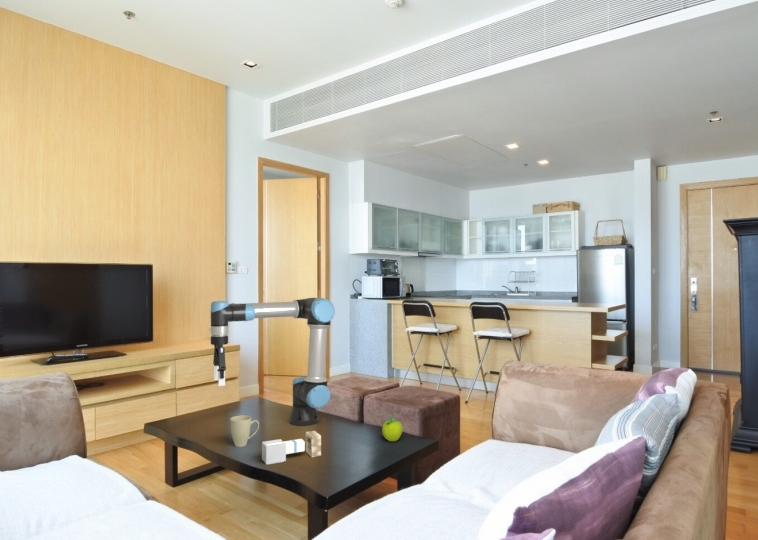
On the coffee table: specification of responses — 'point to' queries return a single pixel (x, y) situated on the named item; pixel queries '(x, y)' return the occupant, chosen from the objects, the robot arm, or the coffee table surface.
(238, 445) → the mug
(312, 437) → the beige block
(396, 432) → the fruit
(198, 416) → the coffee table surface
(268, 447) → the sleeve
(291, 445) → the blue-banded white bar
